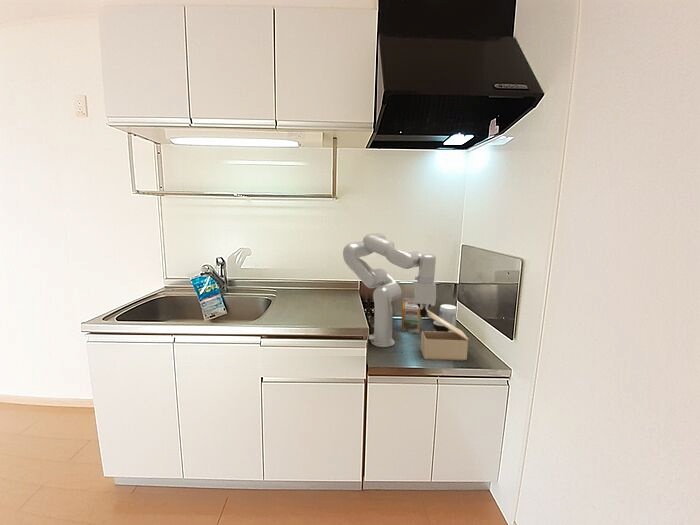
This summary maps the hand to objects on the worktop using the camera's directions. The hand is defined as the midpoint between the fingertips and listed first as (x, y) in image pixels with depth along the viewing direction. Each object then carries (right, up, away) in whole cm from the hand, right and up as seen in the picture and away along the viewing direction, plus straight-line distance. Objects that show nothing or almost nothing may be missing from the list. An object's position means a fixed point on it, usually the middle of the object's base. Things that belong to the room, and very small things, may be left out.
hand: (422, 316), depth 166 cm
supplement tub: (+22, -14, +37) cm, 45 cm away
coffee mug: (+14, -16, +22) cm, 31 cm away
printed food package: (+1, -14, +37) cm, 39 cm away
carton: (+10, -19, +3) cm, 22 cm away
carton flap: (+11, -4, 0) cm, 12 cm away
